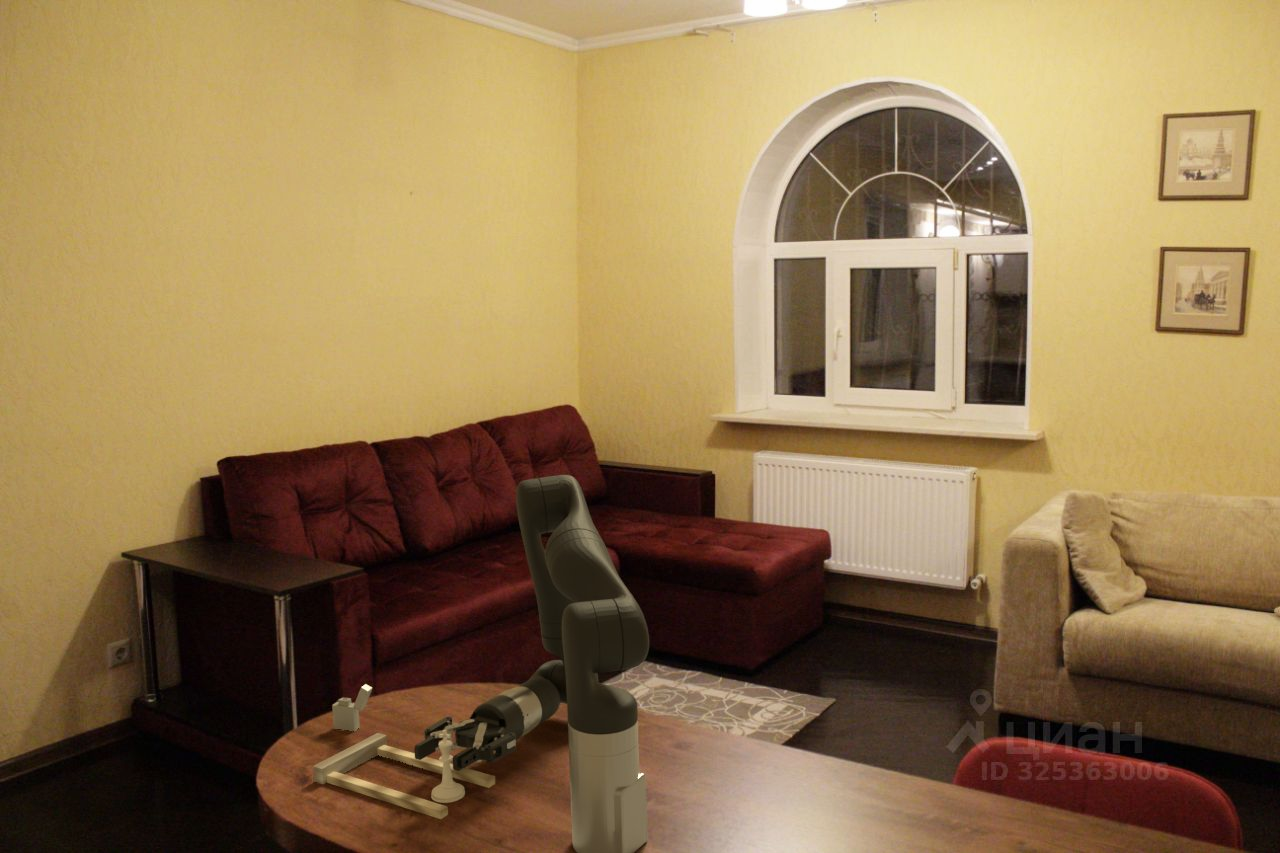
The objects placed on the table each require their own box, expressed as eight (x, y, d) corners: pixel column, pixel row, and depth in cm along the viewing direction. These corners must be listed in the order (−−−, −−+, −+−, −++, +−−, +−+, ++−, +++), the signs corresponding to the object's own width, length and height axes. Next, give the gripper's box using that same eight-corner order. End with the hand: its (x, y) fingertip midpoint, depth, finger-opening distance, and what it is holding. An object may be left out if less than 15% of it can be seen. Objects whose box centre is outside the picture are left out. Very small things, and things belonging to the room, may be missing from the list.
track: (498, 781, 158) (497, 766, 158) (437, 821, 147) (436, 804, 147) (378, 747, 171) (377, 732, 171) (313, 781, 160) (312, 766, 160)
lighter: (333, 729, 179) (330, 684, 178) (339, 725, 181) (335, 680, 180) (370, 733, 177) (367, 687, 176) (375, 729, 179) (372, 684, 178)
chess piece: (457, 804, 152) (454, 738, 151) (425, 801, 153) (422, 736, 152) (469, 788, 157) (466, 724, 155) (438, 785, 158) (435, 722, 156)
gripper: (471, 686, 169) (397, 724, 155) (542, 703, 162) (472, 744, 148) (473, 730, 170) (400, 772, 156) (544, 749, 163) (474, 794, 149)
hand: (435, 758), depth 152 cm, fingers open, 7 cm apart
